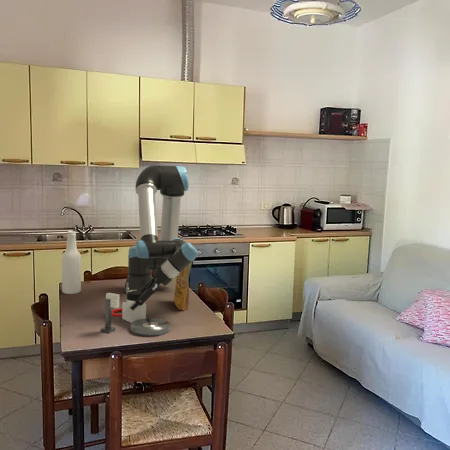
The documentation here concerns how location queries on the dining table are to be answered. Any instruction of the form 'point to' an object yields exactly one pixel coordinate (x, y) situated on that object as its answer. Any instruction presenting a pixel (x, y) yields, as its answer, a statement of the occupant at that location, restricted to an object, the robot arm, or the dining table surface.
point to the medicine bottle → (136, 314)
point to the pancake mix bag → (182, 289)
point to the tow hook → (121, 308)
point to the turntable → (149, 327)
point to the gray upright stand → (110, 302)
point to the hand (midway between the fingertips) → (126, 310)
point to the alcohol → (71, 266)
